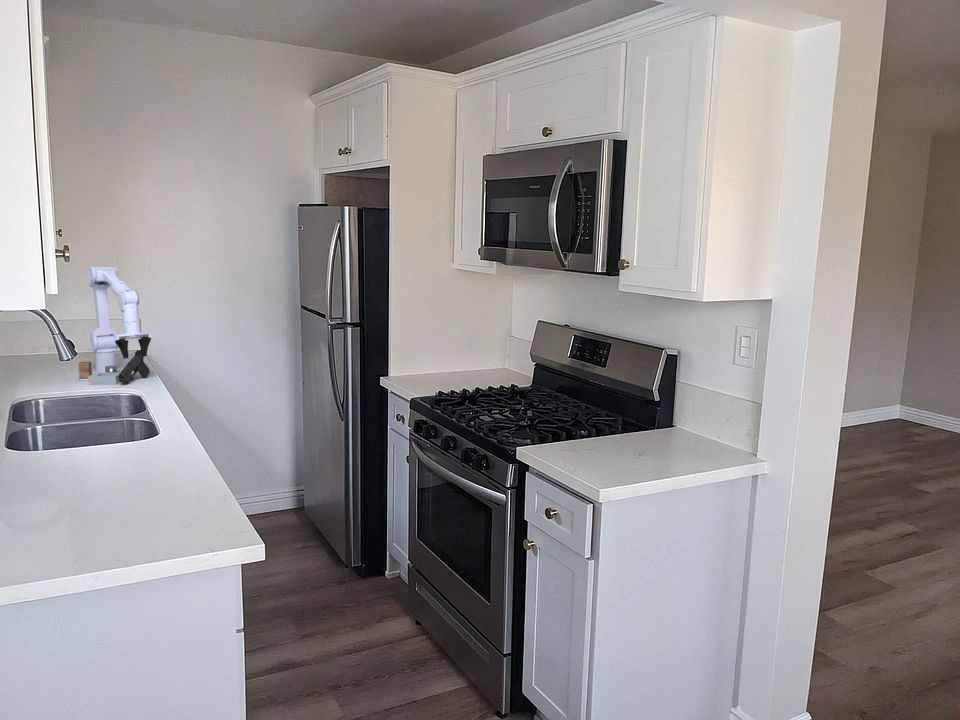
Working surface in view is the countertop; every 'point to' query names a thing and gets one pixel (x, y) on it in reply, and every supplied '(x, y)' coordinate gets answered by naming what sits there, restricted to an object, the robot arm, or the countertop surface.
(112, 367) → the round bit
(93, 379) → the socket block
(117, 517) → the countertop surface
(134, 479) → the countertop surface
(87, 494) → the countertop surface
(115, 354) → the robot arm
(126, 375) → the handgun
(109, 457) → the countertop surface
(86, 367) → the square bit
